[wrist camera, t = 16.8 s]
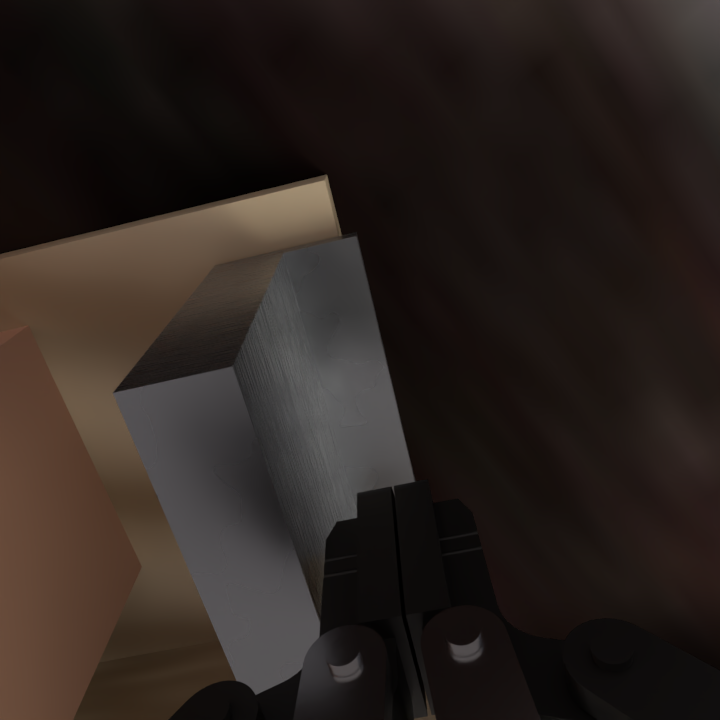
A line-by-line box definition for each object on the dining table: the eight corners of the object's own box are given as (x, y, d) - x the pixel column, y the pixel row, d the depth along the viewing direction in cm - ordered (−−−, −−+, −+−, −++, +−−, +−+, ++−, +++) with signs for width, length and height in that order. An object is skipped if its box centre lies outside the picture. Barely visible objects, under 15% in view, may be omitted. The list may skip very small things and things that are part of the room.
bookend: (426, 526, 21) (464, 762, 14) (309, 549, 21) (284, 791, 14) (356, 231, 17) (356, 339, 10) (215, 265, 18) (112, 393, 10)
